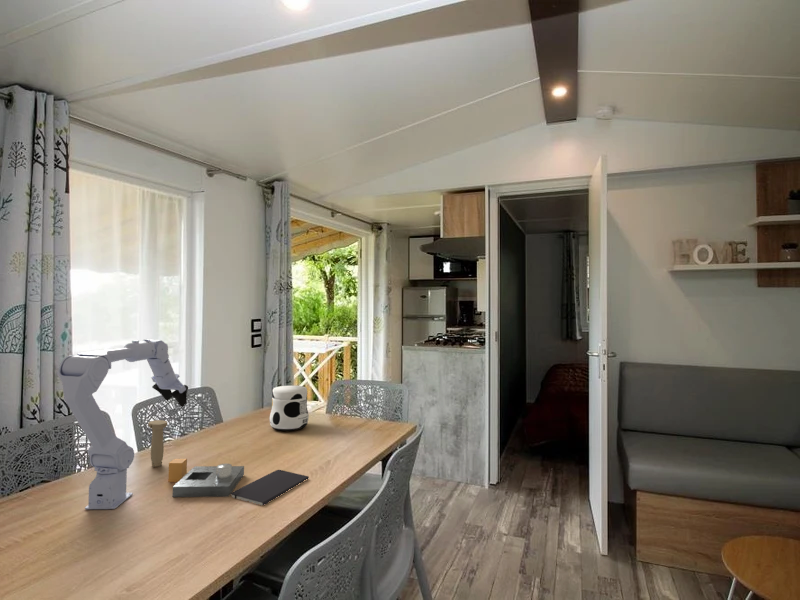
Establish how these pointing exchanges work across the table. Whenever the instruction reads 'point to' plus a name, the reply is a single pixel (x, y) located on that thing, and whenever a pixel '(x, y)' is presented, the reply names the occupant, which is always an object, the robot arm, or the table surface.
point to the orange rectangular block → (177, 469)
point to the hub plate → (209, 481)
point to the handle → (157, 441)
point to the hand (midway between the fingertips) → (176, 401)
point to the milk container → (289, 408)
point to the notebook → (269, 487)
